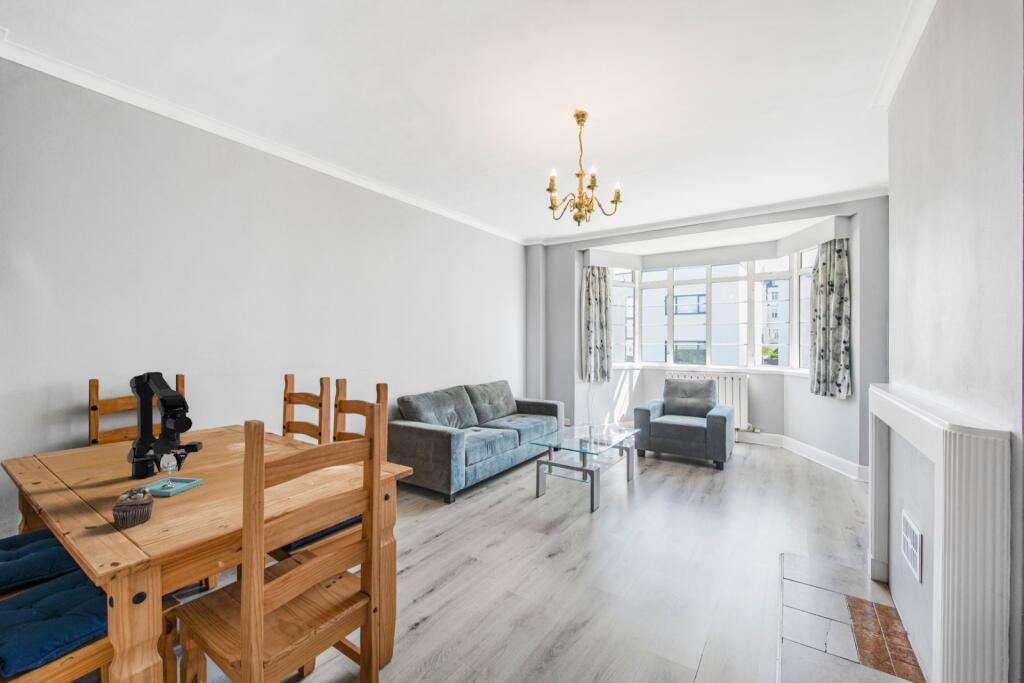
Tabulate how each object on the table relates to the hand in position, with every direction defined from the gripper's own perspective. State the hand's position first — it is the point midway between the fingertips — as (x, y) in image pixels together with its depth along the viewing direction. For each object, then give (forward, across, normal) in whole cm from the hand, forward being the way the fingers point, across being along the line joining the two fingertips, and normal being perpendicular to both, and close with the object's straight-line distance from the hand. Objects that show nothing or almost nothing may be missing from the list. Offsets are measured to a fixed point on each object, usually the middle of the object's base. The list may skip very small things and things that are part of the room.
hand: (169, 471), depth 159 cm
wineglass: (+5, 0, 0) cm, 5 cm away
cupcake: (+6, +2, -30) cm, 31 cm away
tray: (+6, 0, 0) cm, 6 cm away
